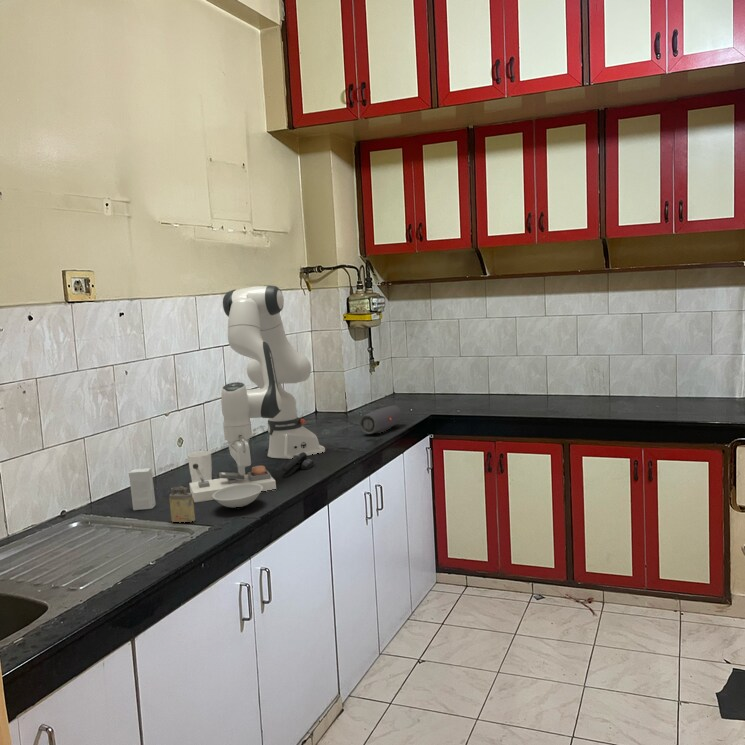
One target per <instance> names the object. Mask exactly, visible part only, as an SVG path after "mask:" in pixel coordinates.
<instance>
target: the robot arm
mask: <svg viewBox="0 0 745 745" xmlns="http://www.w3.org/2000/svg"><path fill="white" fill-rule="evenodd" d="M222 298H223V299H222V308H223V312H224V313H225V315H226V316H227V317H228V322H227V341H228V345H229V346H230V348H231V349H232V350H233V351H234V352H235V353H237V354H238V355H241V356H243V357H247V358H249V359H250V360H249V362H248V364H247V367H246V374H247V376H248V379H249V380H250V381H251V382H252V383H254V384H255V385H256V386H257V387H258V388H256V389H255V388H252V389H247V387H246V384H245V383H243V382H238V381H237V382H230V383H226V384H225V385H223V386H222V387H221V388H222V389H221V403H220V404H221V413H222V416H223V423H222V424H223V426H222V427H223V435H224V436H223V437H224V440H225V441H226V442H227V444H228V451H229V454H230V456H231V458H233V460H234V461H235V462H236V467H237V473H239V474H240V475H241V476H242V475H246V467H250V466H251V464H252V459H251V452H250V451H251V450H250V445H249V441H250V440H249V439H252V437H253V432H252V422H251V419H257V418H258V419H259V418H262V419H268V420H267V431H268V435H269V443H268V444H269V445H268V451H267V457H268V458H272V459H285V460H286V459H288V460H291V459H292V458H293V456H295V455H299V454H300V453H302V452H304V453H306V455H307V457H308V456H313V455H318V454H317V453H319V454H323V453H325V452H326V447H325V446H323V445H321V444H320V443H319V442H320V441H319V438H318V437H317V435H316V434H315V433H314V432H312V431H311V430H309V429H308V428H306V427H305V426H303V425H305V424H306V422H307V421H306V420H305V419H304V418H300V417H298V413H297V401H296V399H295V396H293V394H291V393H289V392H287V391H286V390H285V389H284V387H283V386H282V384H285V385H286V384H298V383H301V382H306V381H308V379H309V378H310V375H311V372H312V366H311V362H310V360H309V359H308V358H307V357H306V356H304V355H303V354H301V353H299V352H298V351H297V350H296V349H295V348H294V347H293V346H292V345H291V343H290V342H289V339H288V337H287V335H286V332H285V327H284V324H283V321H282V316H281V313H280V312H282V310H283V308H284V304H285V303H284V301H285V300H284V295H283V292H282V290H281V289H280V288H279V287H278V286H276V285H267V286H266V285H263V286H262V285H259V286H250V287H245V288H244V287H243V288H239V289H233V290H229V291H227V292H226V293H225V294H224V295H223V297H222ZM322 452H323V453H322ZM312 454H313V455H312Z"/></svg>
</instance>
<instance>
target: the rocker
mask: <svg viewBox="0 0 745 745" xmlns="http://www.w3.org/2000/svg"><path fill="white" fill-rule="evenodd" d="M218 475H219V478H227V479H244V477H245V476H244V475H242V476H241V475H240V474H239V473H238V472H220V471H219V473H218Z"/></svg>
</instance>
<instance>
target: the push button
mask: <svg viewBox="0 0 745 745" xmlns="http://www.w3.org/2000/svg"><path fill="white" fill-rule="evenodd" d="M265 470H266V466H265V465H255V466H252V467H251V472H252V475H253V476H256V475H263V474H266V471H265Z"/></svg>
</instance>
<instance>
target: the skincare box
mask: <svg viewBox="0 0 745 745" xmlns="http://www.w3.org/2000/svg"><path fill="white" fill-rule="evenodd" d="M128 477H129V484H130V494H131V501H132V503H131V504H132V510H133V511H139V510H140V511H141V510H151V509H153V508H154V507H155V506H156V498H155V490H154V479H153V472H152V468H151V467H150V468H138V469H137V468H135V469H132V470H130V471H129V472H128Z"/></svg>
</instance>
